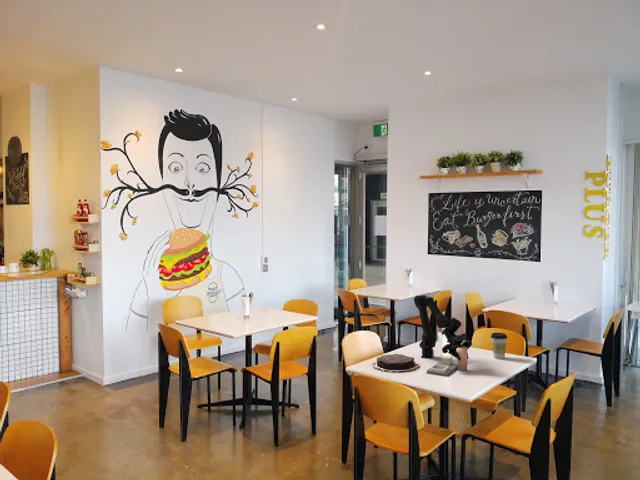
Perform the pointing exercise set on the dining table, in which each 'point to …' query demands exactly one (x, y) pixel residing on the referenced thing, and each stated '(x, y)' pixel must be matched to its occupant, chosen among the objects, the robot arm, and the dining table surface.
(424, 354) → the robot arm
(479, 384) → the dining table surface
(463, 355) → the pillar
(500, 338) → the coffee cup
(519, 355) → the dining table surface
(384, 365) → the chocolate cake
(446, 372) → the base plate
